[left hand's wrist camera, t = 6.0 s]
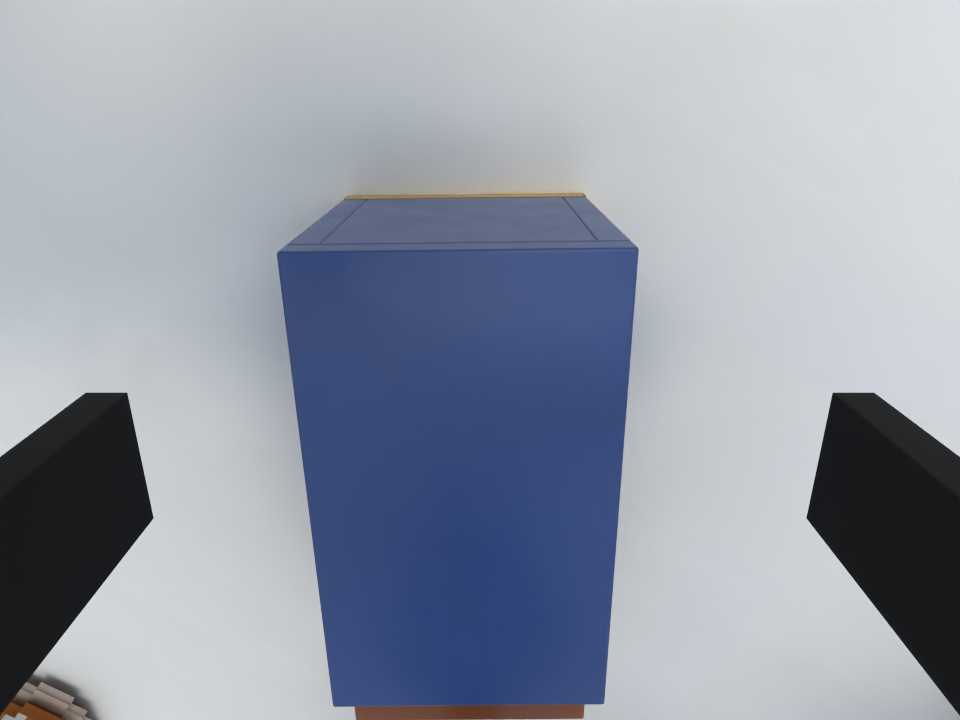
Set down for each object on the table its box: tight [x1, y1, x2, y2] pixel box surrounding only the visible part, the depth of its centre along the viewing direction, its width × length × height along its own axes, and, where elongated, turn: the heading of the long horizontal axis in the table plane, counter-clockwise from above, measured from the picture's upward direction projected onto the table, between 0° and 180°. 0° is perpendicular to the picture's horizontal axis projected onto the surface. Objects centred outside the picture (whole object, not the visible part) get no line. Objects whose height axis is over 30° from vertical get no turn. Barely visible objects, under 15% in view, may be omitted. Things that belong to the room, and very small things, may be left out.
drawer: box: [355, 704, 584, 720], centre depth 31 cm, size 23×10×10 cm, turn 1°
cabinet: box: [277, 193, 638, 707], centre depth 29 cm, size 19×11×12 cm, turn 1°
